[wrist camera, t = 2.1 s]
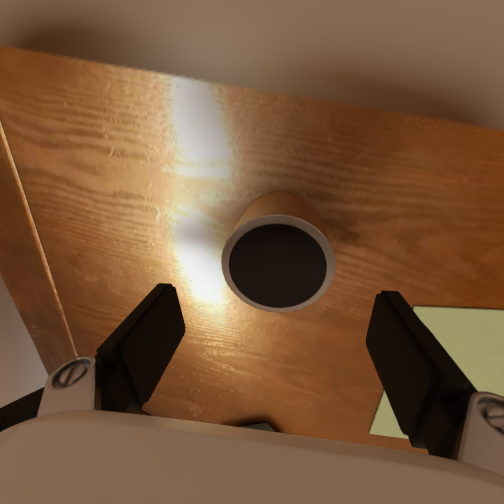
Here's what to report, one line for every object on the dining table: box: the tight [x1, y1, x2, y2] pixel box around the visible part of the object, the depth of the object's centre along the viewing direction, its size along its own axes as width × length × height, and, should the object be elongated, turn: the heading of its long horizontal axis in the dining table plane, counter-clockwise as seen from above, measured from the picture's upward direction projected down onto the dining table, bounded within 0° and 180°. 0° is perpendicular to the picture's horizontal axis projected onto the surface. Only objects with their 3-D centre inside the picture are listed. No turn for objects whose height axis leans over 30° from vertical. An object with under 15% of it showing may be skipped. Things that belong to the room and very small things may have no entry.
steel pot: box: [221, 192, 336, 312], centre depth 15 cm, size 7×7×6 cm
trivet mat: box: [369, 305, 504, 439], centre depth 22 cm, size 22×22×1 cm
